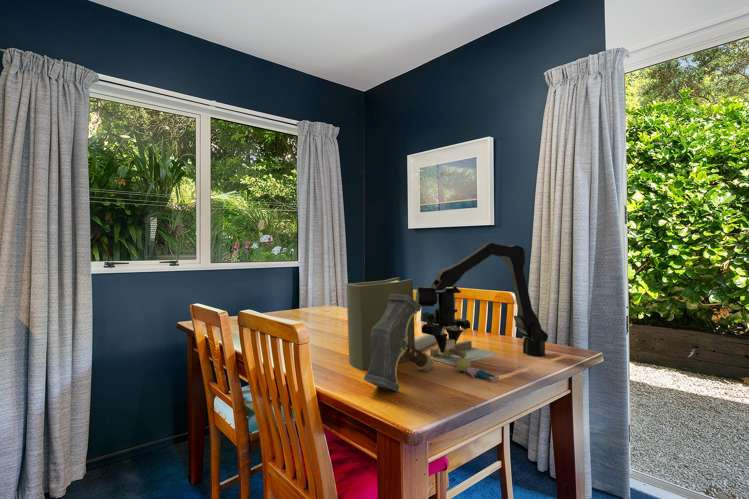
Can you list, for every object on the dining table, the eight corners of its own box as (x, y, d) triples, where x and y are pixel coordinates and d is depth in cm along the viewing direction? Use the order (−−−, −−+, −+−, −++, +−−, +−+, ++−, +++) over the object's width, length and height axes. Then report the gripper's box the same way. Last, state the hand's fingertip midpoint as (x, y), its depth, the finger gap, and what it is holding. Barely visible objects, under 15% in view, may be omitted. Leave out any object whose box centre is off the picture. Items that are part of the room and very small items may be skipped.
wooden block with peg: (468, 358, 138) (468, 343, 138) (460, 360, 135) (460, 344, 135) (446, 352, 146) (446, 337, 146) (438, 354, 143) (438, 339, 143)
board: (499, 356, 147) (499, 346, 147) (457, 367, 134) (457, 357, 134) (468, 348, 158) (468, 339, 158) (426, 358, 145) (426, 349, 145)
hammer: (428, 339, 140) (389, 285, 122) (451, 344, 134) (414, 289, 116) (394, 413, 127) (346, 366, 109) (419, 423, 122) (372, 374, 103)
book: (360, 372, 132) (357, 284, 131) (347, 365, 140) (344, 282, 139) (415, 360, 143) (412, 279, 142) (400, 354, 151) (397, 277, 150)
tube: (428, 331, 172) (399, 343, 151) (440, 328, 169) (412, 340, 148) (432, 344, 171) (403, 357, 150) (443, 341, 168) (416, 355, 147)
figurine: (502, 383, 122) (463, 368, 134) (503, 368, 121) (463, 354, 133) (489, 388, 118) (450, 372, 130) (490, 372, 118) (451, 358, 130)
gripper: (447, 301, 155) (447, 342, 155) (410, 306, 143) (410, 351, 144) (471, 304, 146) (471, 348, 146) (433, 310, 135) (433, 358, 135)
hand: (446, 351), depth 143 cm, fingers closed on wooden block with peg, 4 cm apart
